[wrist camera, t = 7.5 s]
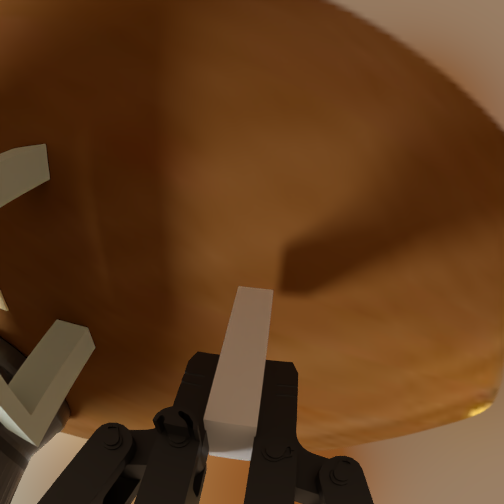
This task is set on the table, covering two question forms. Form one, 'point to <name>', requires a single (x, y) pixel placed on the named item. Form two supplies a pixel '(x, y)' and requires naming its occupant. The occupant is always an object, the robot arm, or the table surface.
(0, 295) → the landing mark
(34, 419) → the bridge
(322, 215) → the table surface
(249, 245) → the table surface
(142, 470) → the robot arm
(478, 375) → the table surface
